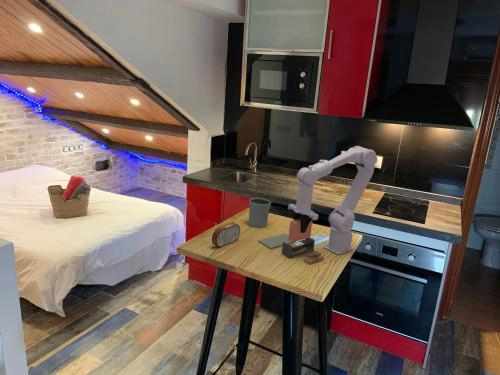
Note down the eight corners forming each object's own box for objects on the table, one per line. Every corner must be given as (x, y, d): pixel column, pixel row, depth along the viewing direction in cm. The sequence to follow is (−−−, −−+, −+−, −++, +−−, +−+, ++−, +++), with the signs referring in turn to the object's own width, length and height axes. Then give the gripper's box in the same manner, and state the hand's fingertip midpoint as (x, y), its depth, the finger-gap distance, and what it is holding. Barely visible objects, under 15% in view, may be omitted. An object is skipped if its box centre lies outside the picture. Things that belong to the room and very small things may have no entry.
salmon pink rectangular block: (305, 235, 153) (308, 217, 151) (310, 237, 151) (312, 218, 149) (288, 239, 147) (290, 220, 145) (292, 242, 145) (294, 223, 143)
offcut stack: (317, 257, 148) (318, 249, 147) (323, 260, 146) (324, 252, 145) (303, 262, 143) (304, 253, 142) (309, 265, 141) (310, 256, 140)
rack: (305, 246, 157) (306, 235, 155) (313, 251, 153) (315, 240, 152) (281, 253, 149) (282, 242, 147) (289, 258, 145) (291, 246, 144)
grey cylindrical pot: (245, 220, 181) (247, 197, 178) (265, 220, 184) (267, 197, 181) (250, 228, 172) (252, 204, 169) (271, 228, 174) (273, 204, 171)
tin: (235, 237, 161) (236, 219, 158) (240, 240, 159) (242, 221, 157) (210, 247, 149) (211, 228, 147) (216, 250, 147) (217, 230, 145)
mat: (285, 234, 168) (285, 233, 168) (298, 241, 162) (298, 240, 161) (257, 241, 158) (257, 240, 158) (270, 249, 152) (270, 247, 152)
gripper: (284, 194, 148) (280, 226, 151) (310, 205, 137) (306, 239, 141) (296, 192, 152) (293, 223, 156) (323, 202, 141) (319, 236, 145)
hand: (300, 231), depth 148 cm, fingers closed on salmon pink rectangular block, 2 cm apart
